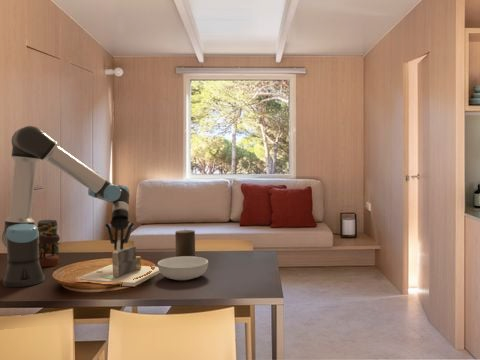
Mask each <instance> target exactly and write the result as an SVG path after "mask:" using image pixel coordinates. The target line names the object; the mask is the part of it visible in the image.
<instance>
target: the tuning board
mask: <svg viewBox="0 0 480 360" xmlns="http://www.w3.org/2000/svg"><path fill="white" fill-rule="evenodd" d="M154 267H155V269H154V270H152V269H151V267H150V266H149V265H141V269H138V270H134V271H131V272H129V273H127V274H124V275H122V276H119V277H118V278H116V277H113V263H111V264H109V265H106V266H104V267H101V268H99V269H96V270H93V271H90V272H89V273H86V274H84V275H81V276H79V277H76V278H75V280H76V279H80V280H87V281H95V282H123V284H122V287H136V286H138V285H140V284H142V283H144V282H146V281H148V280H149V279H152V278H153V277H156V276H157V275H158V274H161V273H160V271H159V268H158V266H154ZM149 271H152V272H151V273H150V274H148V275H146V276H143V277H141V278H138V279H134V278H136V277H139V276H142V275H144V274H146V273H147V272H149ZM133 279H134V280H133Z"/></svg>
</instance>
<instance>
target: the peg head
mask: <svg viewBox="0 0 480 360" xmlns="http://www.w3.org/2000/svg"><path fill="white" fill-rule="evenodd" d="M136 248H137V247H136V246H128V247H126V248H123V249H122V250H119V251H117V250H115V251H113V252H111V253H112V257H111V259H112V264H113V277H116V278H118V277H119V276H122V275H124V274H127V273H129V272H131V271H134V270H138V269H141V266H142V257H141V256H139V255H138V256H137V253H136V252H137V251H136Z"/></svg>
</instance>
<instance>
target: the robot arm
mask: <svg viewBox="0 0 480 360" xmlns="http://www.w3.org/2000/svg"><path fill="white" fill-rule="evenodd" d="M11 145H12V148H11V158H12V160H13V161H14V166H13V167H14V168H13V177H12V187H11V188H12V189H11V197H10V208H9V216H8V217H7V218H5V221H4V229H3V232H2V234H1V242H2V244H3V246H4V247H5V248H6V251H7V252H6V253H7V267H6V271H5V275H4V278H3V286H5V287H7V288H21V287H29V286H34V285H39V284H40V283H42V282H45V273H44V272H43V270H42V267H41V266H40V263H39V247H38V243H39V231H38V226H37V225H35V220H34V219H33V218H32V213H33V212H32V210H33V202H34V193H35V192H34V191H35V185H36V184H35V182H36V173H37V164H38V162H40V161H48V162H49V163H50V164H52V165H54V166H55V167H57V168H58V169H59V170H61V171H62V172H64V173H65V174H66V175H68V176H70V177H71V178H72V179H74V180H75V181H77V182H79V183H80V184H81V185H83V187H86V188H87V189H88V191H87V195H88V196H90V197H92V198H95V199H98V200H101V201H104V202H109V203H111V204H112V209H111V210H112V214H111V221H110V223H106V224H105V225H104V226H105V229H106V231H107V233H108V237H109V241H110V244H113V245H114V246H113V248H114V251H119V250H122V249H124V244H128V243H129V240H130V236H131V233H132V231H133V230H134V228H135V225H134V224H135V223H133V222H132V223H131V222H130V220H129V211H130V206H129V205H130V190H129V187H128V186H127V185H123V184H122V185H120V184H119V185H116V184H113V183H112V182H110V181H108V180H107V179H106V178H104V177H103V176H101V175H100V174H99V173H97V172H96V171H95V170H93V169H92V168H90V167H88V165H86V164H84V163H83V162H81V161H80V160H79V159H77V158H76V157H74V155H72V154H70V153H69V152H67V151H66V150H65V149H63V148H62V147H61V146H59V145H58V141H56V140H55V139H53V138H52V137H51V136H49V135H48V133H46V132H45V131H44V130H42V129H41V128H38V127H37V126H32V125H28V126H24V127H21V128H19V129H17V130H16V131H15V132H14V134H12V137H11ZM112 228H113V229H114V237H113V233H112ZM126 228H127V230H126ZM125 230H126V233H125ZM119 231H120V240H119Z"/></svg>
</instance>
